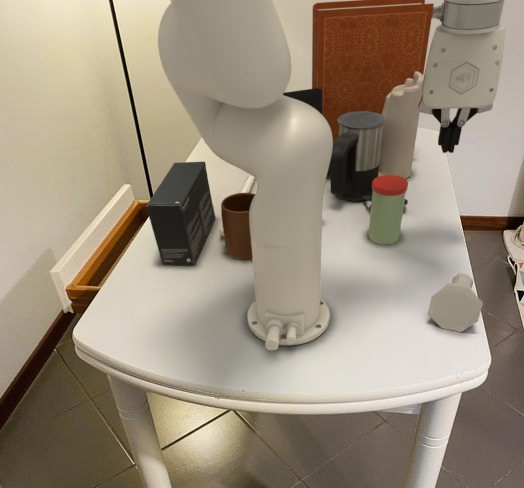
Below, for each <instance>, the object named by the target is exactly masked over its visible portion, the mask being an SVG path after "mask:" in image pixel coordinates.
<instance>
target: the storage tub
mask: <svg viewBox="0 0 524 488" xmlns="http://www.w3.org/2000/svg"><path fill="white" fill-rule="evenodd" d="M408 188H409V181H408V180H407V178H406V179H405V178H403V177H400V176H395V175H383V176H379V177H377V178H375V179H374V180H373V182H372V189H373V193H372V202H371V205H370V213H369V214H370V215H369V225H368V235H367V236H368V239H369V240H370V241H371V242H373V243H375V244H378V245H391V244H395V243H396V242H398V241H399V239H400V236H401V228H402V221H403V214H404V207H405V205H404V201H405V199H406V194H407V191H408Z"/></svg>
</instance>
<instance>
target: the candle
mask: <svg viewBox="0 0 524 488" xmlns="http://www.w3.org/2000/svg"><path fill="white" fill-rule="evenodd" d="M423 80H424V74H423V75H422V74H421V73H420V72H417V71H416V72H415V73H414V78H413V79H410V78H408V79H406V82H405V84H404V85H399V86H396V87H394V88H393V90H392V92H391V93H389V94H388V96H387V97H386V100H385V104H384V108H383V111H382V115H383V116H384V117H385V119H386V121H385V123H384V126H383V135H382V144H381V153H380V162H379V172H378V177H379V176H383V175H395V176H400V177H403V178H405V179H406V180H407V179H408V178H409V177H410V176H411V174H412V167H413V160H414V159H413V158H414V154H415V147H416V141H417V140H416V139H417V135H418V133H417V132H418V126H419V120H420V113H421V112H419V109H418V105H419V102H420V100H421V97H422V86H423Z"/></svg>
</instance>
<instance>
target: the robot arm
mask: <svg viewBox="0 0 524 488" xmlns="http://www.w3.org/2000/svg"><path fill="white" fill-rule="evenodd" d="M169 1H170V4H168V6H167V7H166V9H165V10H164V12H163V13H162V15H161V16H162V17H161V19H160V22H159V27H158V32H157V48H158V55H159V58H160V62H161V67H162V69H163V71H164V74H165V76H166V78H167V80H168V82H169V84H170V86H171V88H172V89H173V91H174V93H175V95H176V97H177V98H178V100H179V102H180V103H181V105H182V106H183V109H184V110H185V111H186V113H187V115H188V117H189V119H190V120H191V121H192V123H193V125H194V126H195V128H196V130H197V132H198V133H199V135H200V137H201V138H202V140H203V142H204V143H205V144H206V146H207V147H208V148H209V150H210V151H211V152H212V153H213V154H214V155H215V156H216V157H218V158H219V159H220V160H222V161H224V162H225V163H227V164H228V165H231V166H233V167H235V168H237V169H239V170H242V171H243V172H245V173H246V174H248V175H249V176H250V175H252V176H254V177H255V180H256V190H255V193H254V194H255V196H254V198H253V200H252V202H251V206H250V211H249V226H250V235H251V247H252V270H253V282H254V292H255V293H254V294H255V300H253V302H252V303H251V304H250V306H249V308H248V310H247V314H246V315H247V325H248V328H249V330H250V331H251V332H252V333H253V334H254V336H255V337H257V338H259V339H260V340H262V341H264V347H265V348H266V349H267V350H268V351H276V350H278V349H279V346H297V345H298V346H299V345H303V344H306V343H308V342H312V341H313V340H315V339H317V338H318V337H320V336H321V335H322V334H323V333H325V331H326V330H327V328H328V327H329V324H330V318H331V312H330V308H329V305H328V304H327V303H326V301H325V300H324V299H323V298H321V278H322V276H321V275H322V274H321V272H322V240H323V239H322V237H323V235H322V234H323V232H322V231H323V228H322V227H323V205H324V195H325V194H324V193H325V188H326V187H325V186H326V181H327V178H328V177H327V172H328V168H329V164H330V160H331V155H332V148H333V137H332V132H331V129H330V126H329V124H328V122H327V120H326V119H325V118H324V116H323V115H322V114H321V113H320V112H319V111H317V110H316V109H315V108H313V107H312V106H310V105H308V104H306V103H304V102H302V101H299V100H296V99H293V98H290V97H287V96H284V95H283V93H285V92H286V90H287V89H288V86H289V84H290V81H291V76H292V57H291V51H290V47H289V44H288V40H287V37H286V34H285V31H284V28H283V24H282V22H281V19H280V17H279V14H278V11H277V7H276V4H274V3H275V2H274V0H169ZM504 5H505V0H443V2H442V3H441V5H438V6H433V10H432V19H431V20H433V19H436V20H439V22H441V24H439V25H437V26H436V27H435V30H434V33H433V36H432V40H431V43H430V47H429V51H428V54H427V58H426V63H425V68H424V74H423V77H424V80H423V86H422V97H421V100H420V102H419V105H418V109H419V112H420V113H422V114H426V115H432V116H433V117H434V118H435V119H436V120H437V121H438V123H439V125H440V127H439V132H438V139H437V145H438V146H440V147H441V151H442V154H446V153H449V154H454V152H455V146H459V144H460V140H461V135H462V129H463V127H465V126H466V124H467V122H468V121H469V120H471V119H472V118H473V117H474V116H476V115H477V114H482V113H486V112H489V111H492V109H493V106H494V104H493V103H494V101H495V99H496V97H497V93H498V92H497V91H498V87H499V83H500V76H501V70H502V64H503V63H502V62H503V58H504V48H505V38H506V27H505V26H504V25H503V24H502V23H501V17H502V13H503V8H504ZM451 109H457V111H456V113H455V116H454V117H453V119H452V120H451V117H450V116H451Z"/></svg>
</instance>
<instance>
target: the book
mask: <svg viewBox="0 0 524 488" xmlns="http://www.w3.org/2000/svg"><path fill="white" fill-rule="evenodd" d="M434 5H435V4H434V3H426V0H339V1H325V2H316V3H314V4H313V5H312V26H311V27H312V28H311V29H312V32H311V33H312V37H311V38H312V39H311V40H312V41H311V43H312V44H311V48H312V50H311V89H314V88H319V89H322V108H323V116H324V118H325V119H326V120H327V122H328V124H329V126H330V129H331V132H332V137H333V144H334V142H335V140H336V139H337V138H338V137H339V122H338V118H339V117H340V116H341V115H343V114H346V113H350V112H357V111H365V112H366V111H368V112H373V113H378V114H381V115H382V111H383V108H384V104H385V100H386V97H387V96H388V94H389V93H391V92H392V90H393V88H394V87H396V86H399V85H404V84H405V82H406V79H408V78H410V79H413V78H414V73H415V72H416V71H417V72H420V73H421V74H422V75H423V76H424V74H425V68H426V61H427V53H428V46H429V38H430V33H431V26H432V25H431V24H432V20H433V19H432V10H433V7H435V6H434Z"/></svg>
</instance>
